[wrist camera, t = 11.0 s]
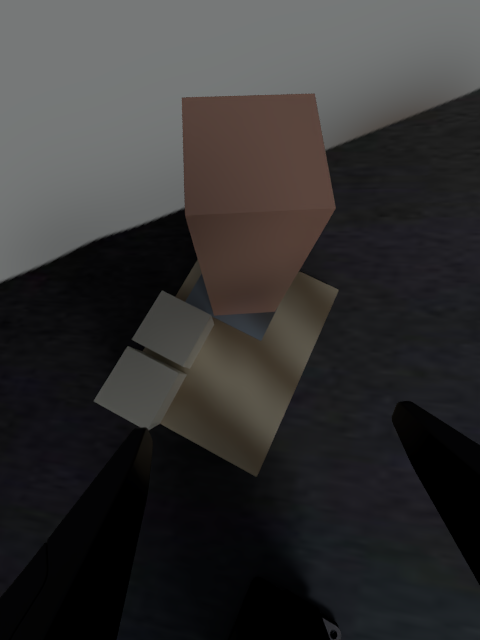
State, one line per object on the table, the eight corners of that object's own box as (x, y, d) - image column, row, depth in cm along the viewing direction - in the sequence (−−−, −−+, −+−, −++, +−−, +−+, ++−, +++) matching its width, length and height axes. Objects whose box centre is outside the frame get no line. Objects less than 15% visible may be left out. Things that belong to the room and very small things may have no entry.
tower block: (274, 311, 21) (335, 208, 9) (214, 315, 21) (185, 215, 8) (268, 256, 22) (314, 93, 10) (211, 259, 22) (181, 97, 10)
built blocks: (160, 423, 19) (147, 431, 16) (114, 398, 20) (93, 401, 17) (214, 324, 21) (211, 315, 18) (171, 302, 21) (161, 290, 19)
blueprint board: (255, 471, 20) (256, 478, 18) (121, 397, 21) (113, 398, 19) (333, 294, 23) (339, 289, 22) (215, 238, 24) (214, 230, 23)
